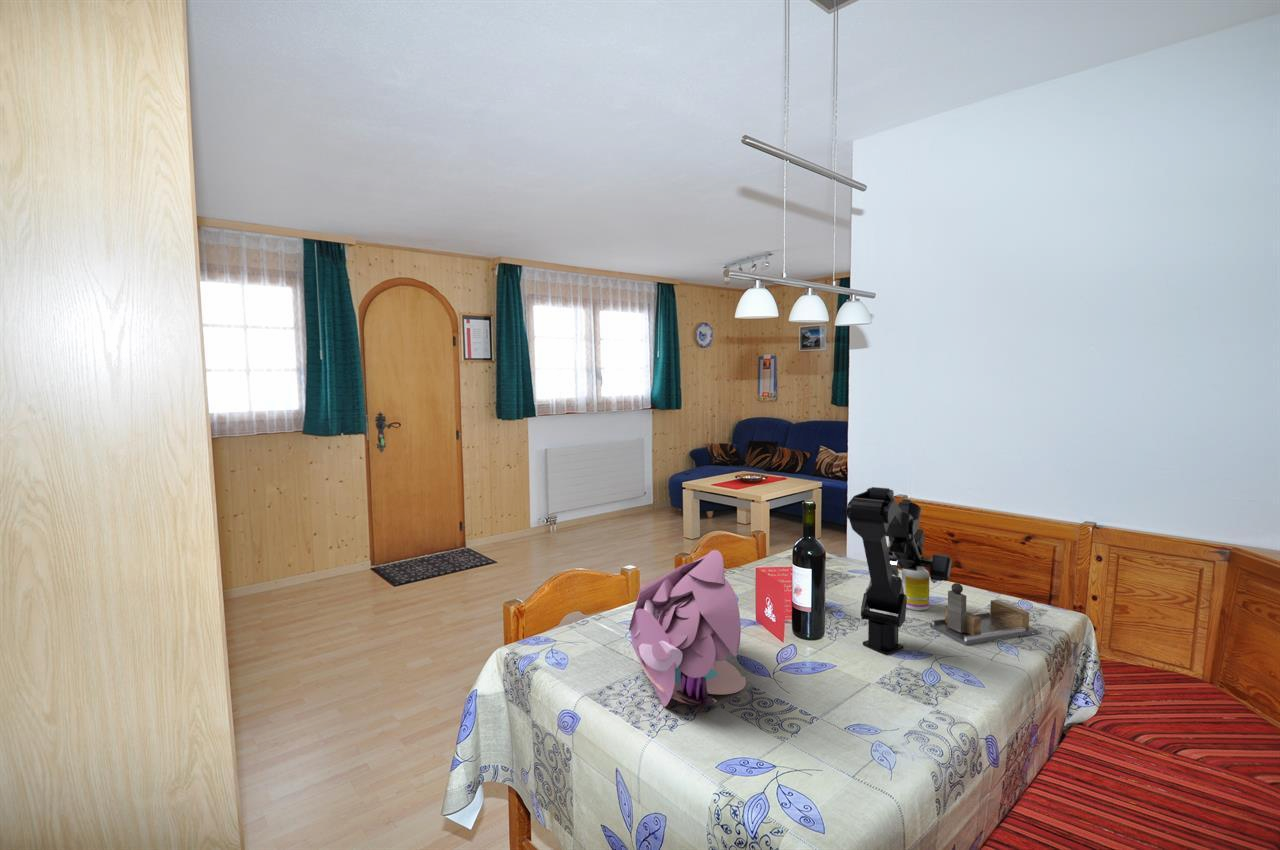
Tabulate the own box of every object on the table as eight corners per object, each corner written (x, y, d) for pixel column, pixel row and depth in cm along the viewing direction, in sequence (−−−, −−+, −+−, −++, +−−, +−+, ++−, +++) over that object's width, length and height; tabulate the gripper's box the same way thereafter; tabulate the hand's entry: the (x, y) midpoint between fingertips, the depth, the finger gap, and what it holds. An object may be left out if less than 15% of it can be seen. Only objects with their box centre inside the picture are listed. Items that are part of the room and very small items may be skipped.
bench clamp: (965, 645, 134) (965, 624, 134) (929, 626, 144) (929, 607, 144) (1037, 633, 140) (1038, 613, 139) (997, 616, 150) (998, 597, 150)
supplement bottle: (933, 611, 154) (934, 563, 154) (908, 611, 154) (908, 563, 154) (922, 602, 161) (922, 556, 160) (897, 602, 161) (898, 556, 160)
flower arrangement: (776, 734, 109) (811, 590, 107) (661, 739, 101) (696, 582, 98) (695, 641, 142) (720, 529, 139) (603, 639, 133) (628, 519, 131)
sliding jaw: (966, 637, 135) (967, 589, 135) (938, 622, 144) (939, 578, 143) (980, 634, 136) (981, 587, 136) (951, 620, 145) (952, 576, 144)
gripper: (950, 525, 146) (959, 558, 156) (874, 515, 158) (886, 546, 167) (942, 564, 141) (952, 595, 150) (863, 551, 153) (877, 581, 162)
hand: (915, 578), depth 157 cm, fingers open, 9 cm apart
